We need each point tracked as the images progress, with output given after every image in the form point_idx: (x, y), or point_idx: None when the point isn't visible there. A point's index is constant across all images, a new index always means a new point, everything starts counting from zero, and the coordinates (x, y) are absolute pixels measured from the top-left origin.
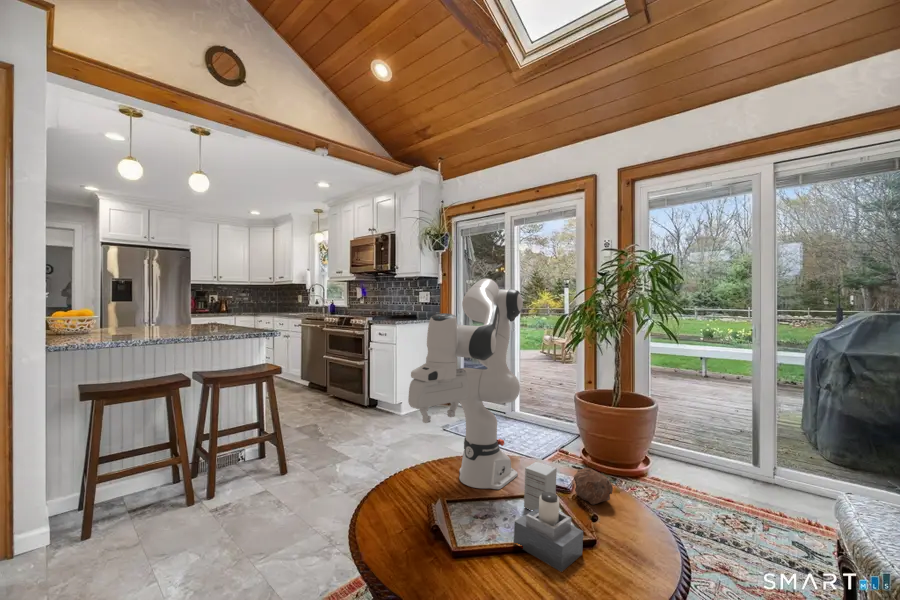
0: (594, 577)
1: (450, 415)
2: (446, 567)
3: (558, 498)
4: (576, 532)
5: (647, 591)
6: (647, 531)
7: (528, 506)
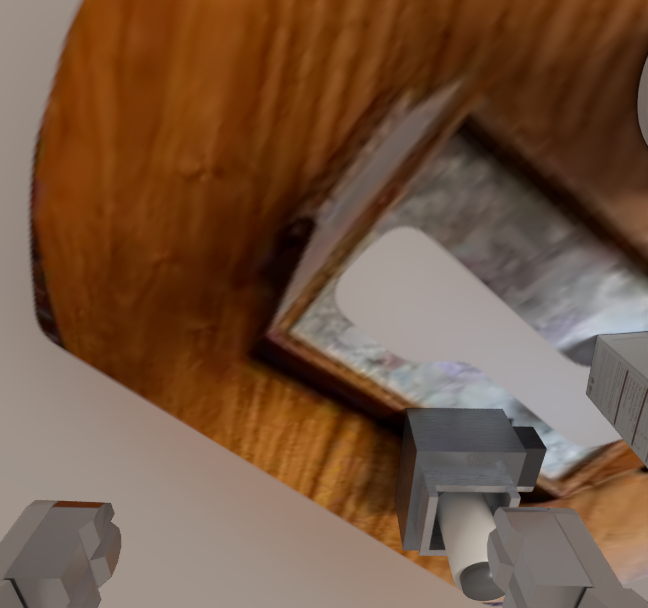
0: None
1: (496, 563)
2: (212, 366)
3: None
4: None
5: (453, 584)
6: None
7: (599, 355)
